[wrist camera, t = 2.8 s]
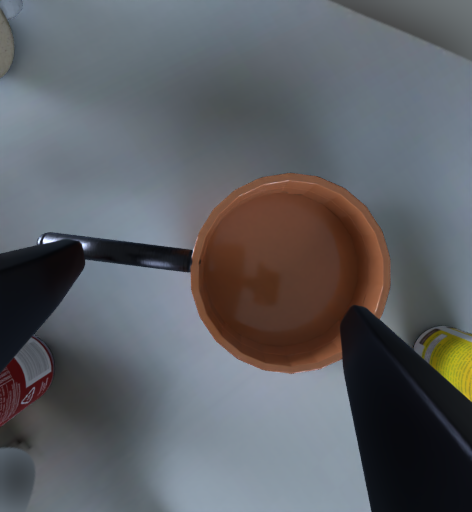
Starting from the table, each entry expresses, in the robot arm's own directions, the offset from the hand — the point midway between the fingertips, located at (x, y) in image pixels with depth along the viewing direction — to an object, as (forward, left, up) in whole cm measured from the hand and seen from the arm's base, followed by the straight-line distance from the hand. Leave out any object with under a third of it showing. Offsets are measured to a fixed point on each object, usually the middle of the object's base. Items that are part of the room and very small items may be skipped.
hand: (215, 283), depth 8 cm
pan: (0, -5, -15) cm, 16 cm away
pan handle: (0, +9, -12) cm, 15 cm away
